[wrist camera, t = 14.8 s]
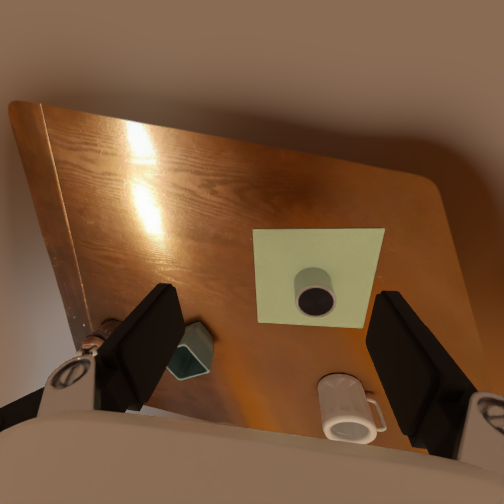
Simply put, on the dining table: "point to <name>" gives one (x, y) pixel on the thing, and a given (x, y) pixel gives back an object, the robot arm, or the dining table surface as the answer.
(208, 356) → the flower pot
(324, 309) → the steel pot
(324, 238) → the trivet mat
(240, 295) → the dining table surface
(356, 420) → the mug
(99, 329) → the cupcake
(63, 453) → the robot arm
